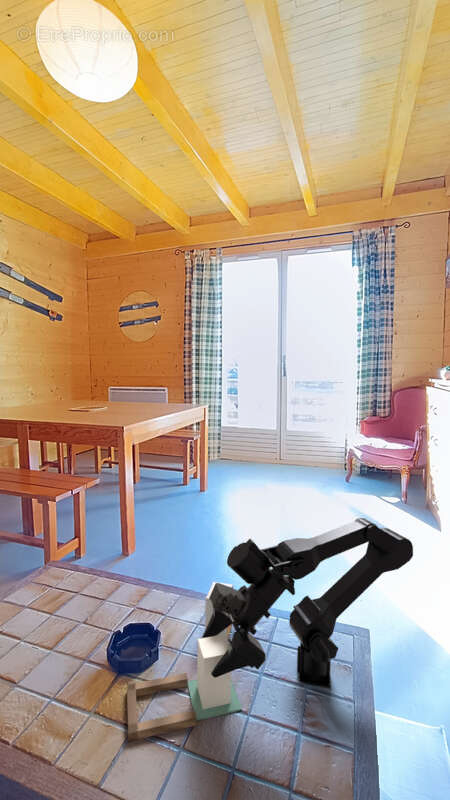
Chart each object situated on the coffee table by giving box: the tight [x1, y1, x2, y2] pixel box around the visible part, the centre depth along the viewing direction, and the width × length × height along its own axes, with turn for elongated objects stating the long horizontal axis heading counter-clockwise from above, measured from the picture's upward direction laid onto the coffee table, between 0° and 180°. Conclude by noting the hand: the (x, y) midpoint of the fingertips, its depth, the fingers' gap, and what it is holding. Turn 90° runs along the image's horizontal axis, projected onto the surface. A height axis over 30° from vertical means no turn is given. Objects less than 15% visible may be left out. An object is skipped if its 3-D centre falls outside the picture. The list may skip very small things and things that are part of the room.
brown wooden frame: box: [126, 672, 197, 742], centre depth 71 cm, size 12×11×2 cm
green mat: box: [187, 679, 243, 722], centre depth 73 cm, size 9×9×1 cm
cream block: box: [196, 635, 232, 709], centre depth 73 cm, size 6×6×10 cm
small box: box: [204, 581, 234, 642], centre depth 93 cm, size 8×6×10 cm
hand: (207, 658), depth 73 cm, fingers open, 9 cm apart
